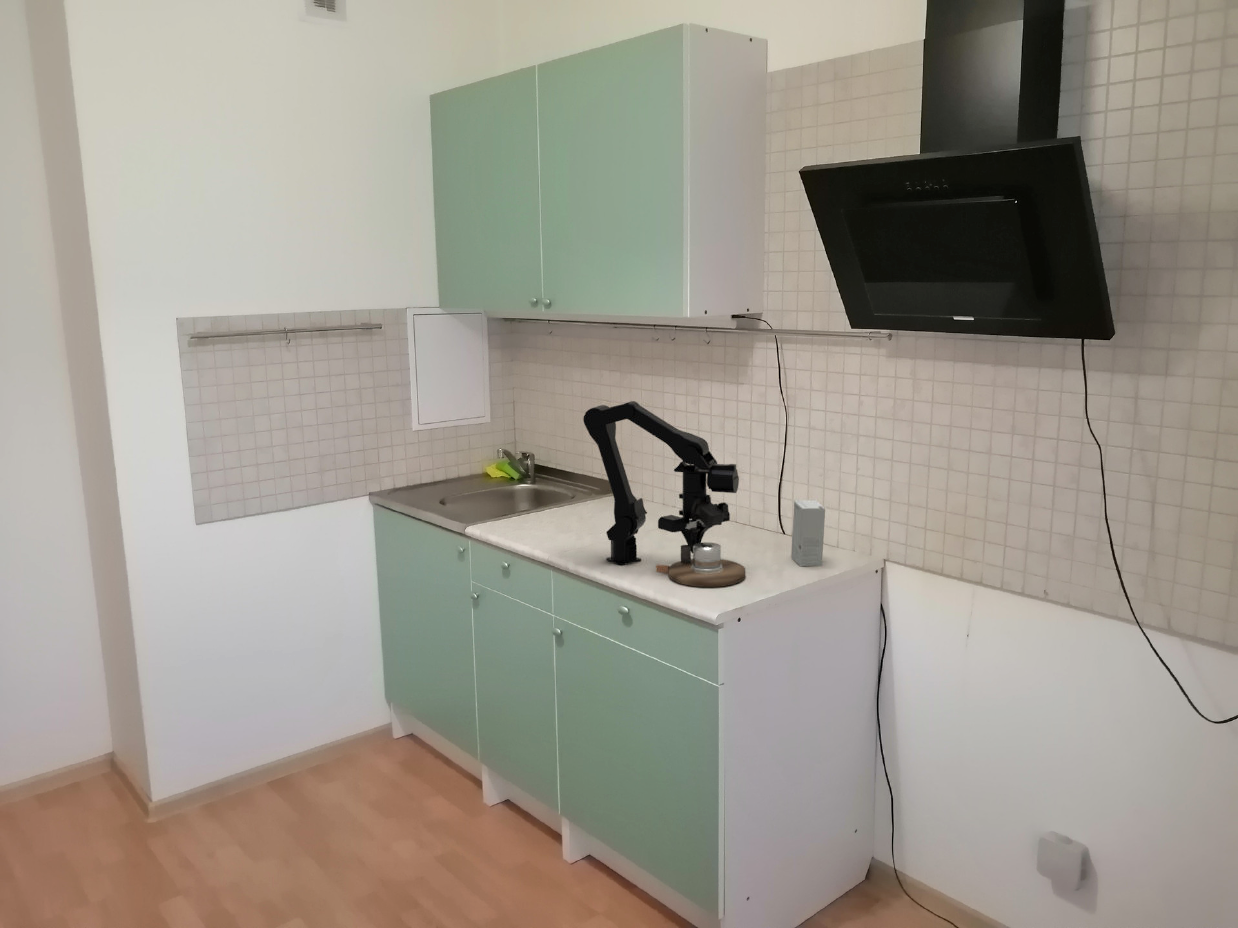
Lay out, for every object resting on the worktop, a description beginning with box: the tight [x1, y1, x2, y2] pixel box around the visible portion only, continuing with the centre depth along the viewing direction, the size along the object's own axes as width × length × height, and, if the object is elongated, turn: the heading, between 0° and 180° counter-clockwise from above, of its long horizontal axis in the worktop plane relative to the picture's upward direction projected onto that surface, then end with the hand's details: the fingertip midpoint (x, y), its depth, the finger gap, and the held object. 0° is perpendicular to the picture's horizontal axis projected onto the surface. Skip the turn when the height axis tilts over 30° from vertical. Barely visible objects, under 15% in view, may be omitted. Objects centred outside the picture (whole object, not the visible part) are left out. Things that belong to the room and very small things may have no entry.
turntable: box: [668, 544, 746, 588], centre depth 229 cm, size 18×18×6 cm
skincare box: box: [790, 499, 826, 567], centre depth 239 cm, size 8×6×15 cm
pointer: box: [655, 564, 671, 574], centre depth 234 cm, size 3×1×2 cm, turn 67°
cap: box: [692, 541, 722, 573], centre depth 229 cm, size 7×7×6 cm
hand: (694, 553), depth 237 cm, fingers closed
